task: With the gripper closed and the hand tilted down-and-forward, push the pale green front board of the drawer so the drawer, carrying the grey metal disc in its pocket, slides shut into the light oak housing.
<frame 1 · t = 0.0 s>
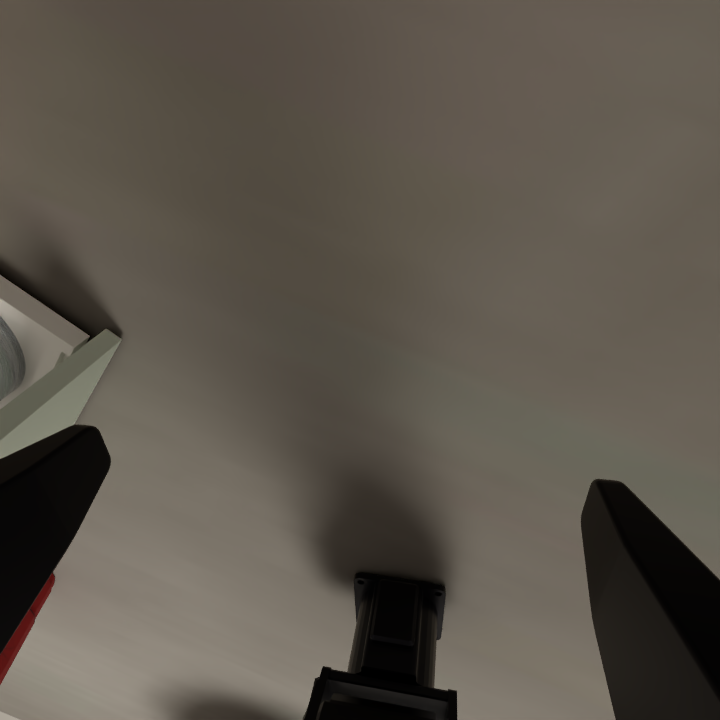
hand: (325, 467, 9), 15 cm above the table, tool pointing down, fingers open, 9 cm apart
plastic cup: (29, 567, 44), on the table
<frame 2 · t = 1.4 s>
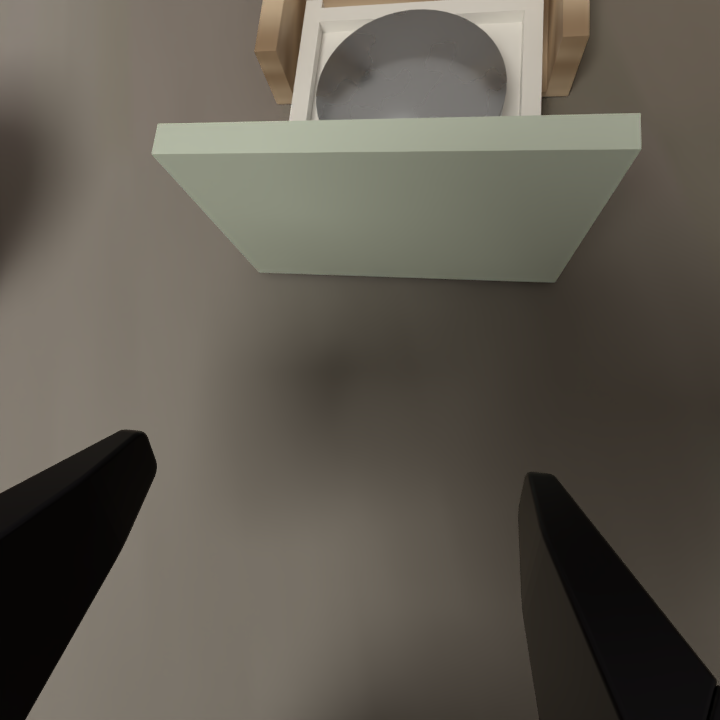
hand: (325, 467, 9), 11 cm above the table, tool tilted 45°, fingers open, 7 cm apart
drawer: (405, 67, 18), point 5 cm above the table, slide at 8.0 cm, touching disc
disc: (410, 114, 22), point 1 cm above the table, touching drawer
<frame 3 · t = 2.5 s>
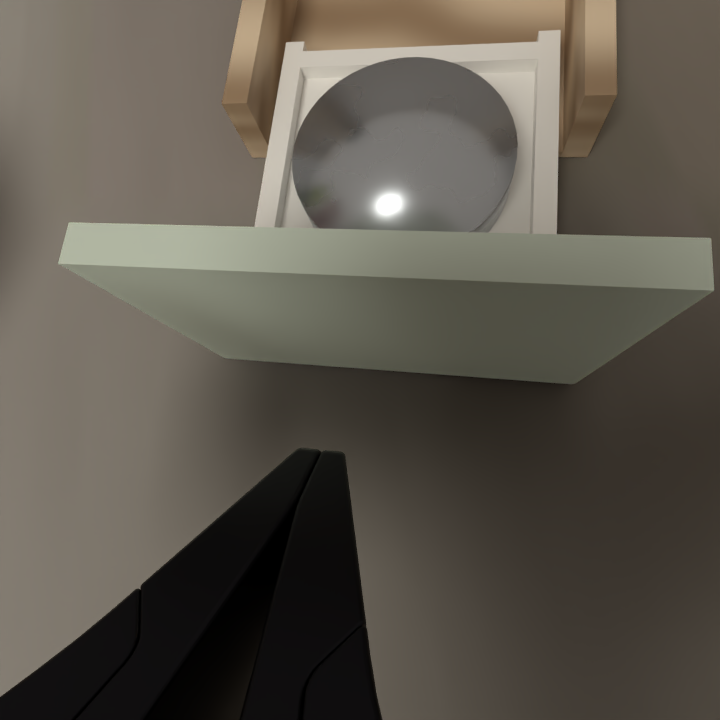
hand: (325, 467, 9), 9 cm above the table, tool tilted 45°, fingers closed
drawer: (396, 132, 15), point 5 cm above the table, slide at 8.0 cm, touching disc
disc: (403, 177, 19), point 1 cm above the table, touching drawer
housing: (422, 26, 22), on the table
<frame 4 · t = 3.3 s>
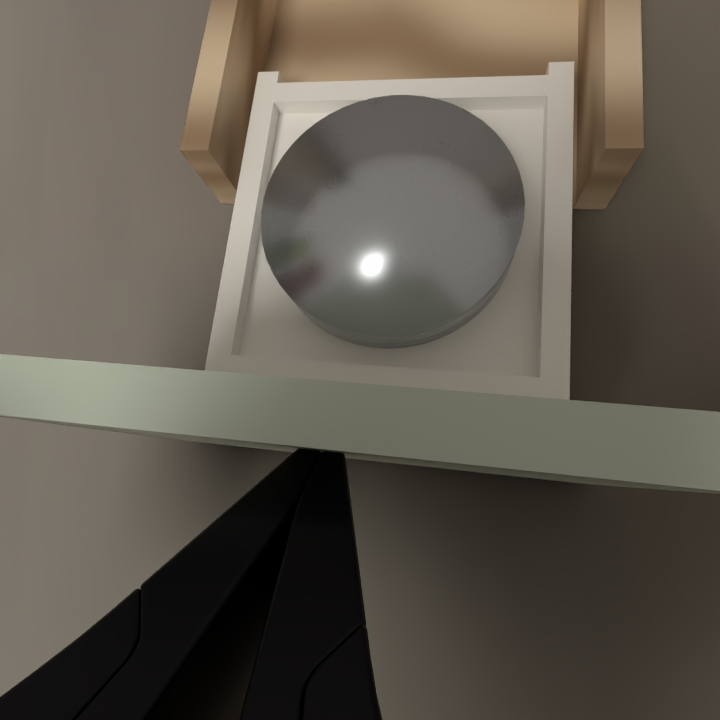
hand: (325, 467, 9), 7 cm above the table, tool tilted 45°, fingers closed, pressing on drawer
drawer: (379, 195, 13), point 5 cm above the table, slide at 7.9 cm, touching disc, gripper
disc: (391, 233, 16), point 1 cm above the table, touching drawer
housing: (415, 52, 19), on the table
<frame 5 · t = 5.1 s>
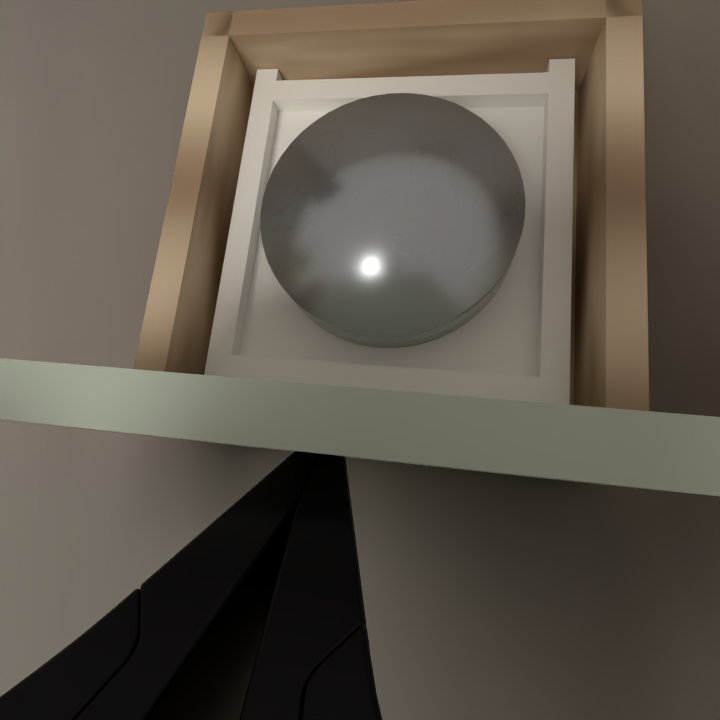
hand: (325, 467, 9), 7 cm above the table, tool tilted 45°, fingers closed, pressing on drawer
drawer: (379, 195, 13), point 5 cm above the table, slide at -0.2 cm, touching disc, gripper
disc: (391, 232, 16), point 1 cm above the table, touching drawer
housing: (396, 239, 17), on the table
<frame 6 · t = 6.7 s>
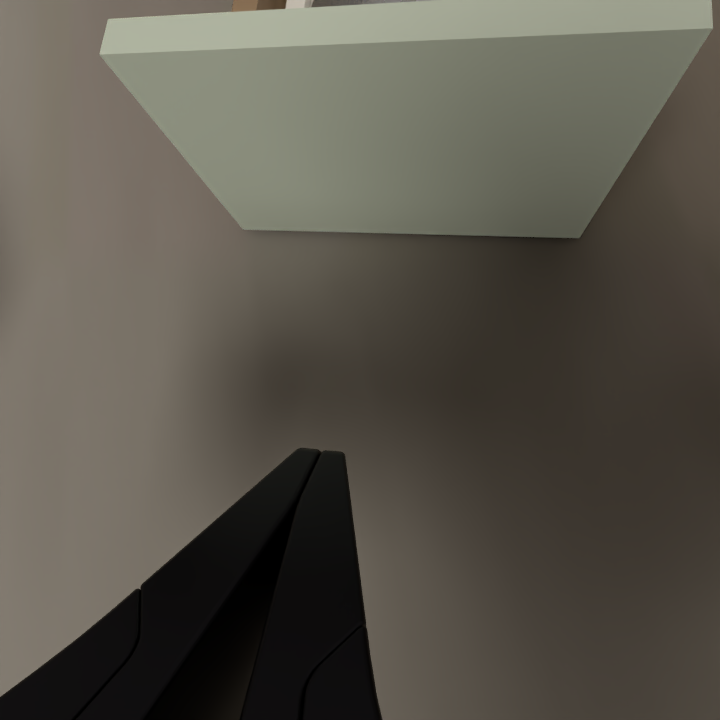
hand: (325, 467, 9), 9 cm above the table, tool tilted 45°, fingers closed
disc: (415, 50, 19), point 1 cm above the table, touching drawer
housing: (418, 63, 20), on the table
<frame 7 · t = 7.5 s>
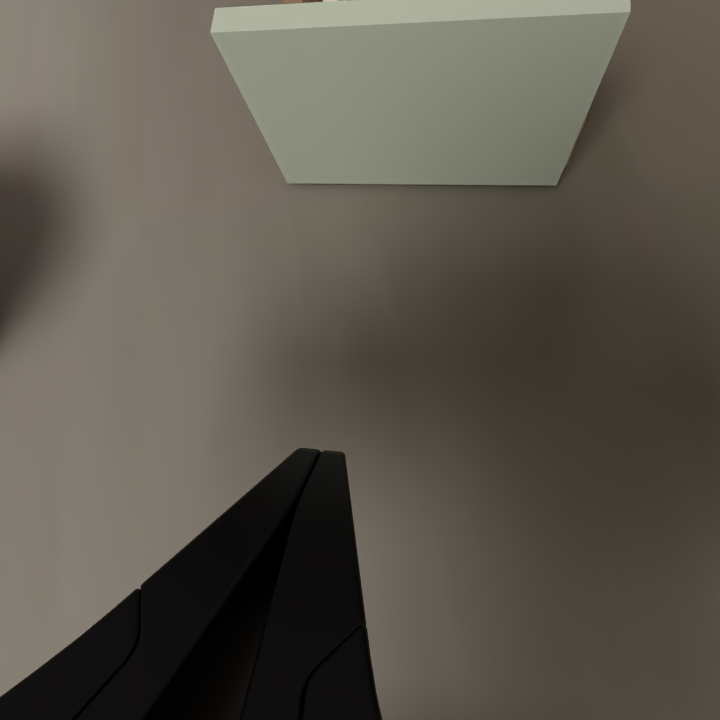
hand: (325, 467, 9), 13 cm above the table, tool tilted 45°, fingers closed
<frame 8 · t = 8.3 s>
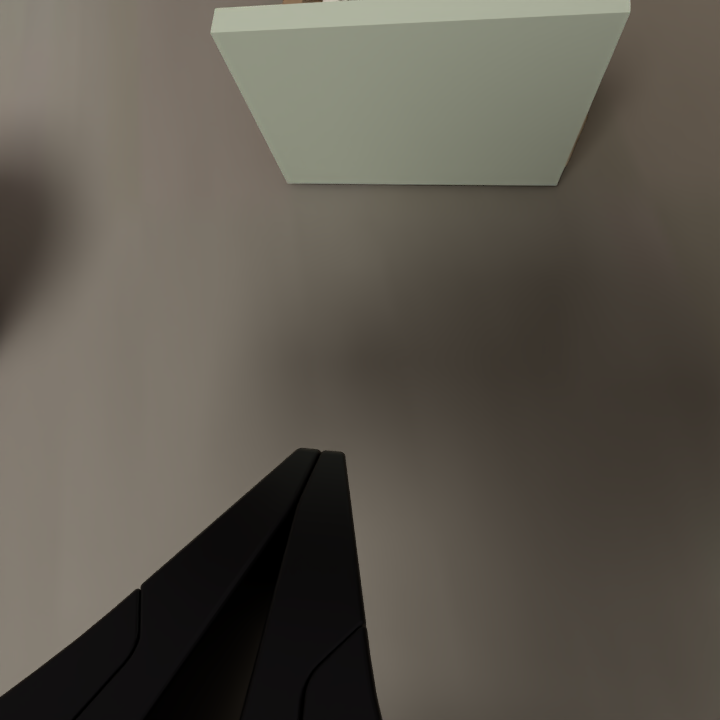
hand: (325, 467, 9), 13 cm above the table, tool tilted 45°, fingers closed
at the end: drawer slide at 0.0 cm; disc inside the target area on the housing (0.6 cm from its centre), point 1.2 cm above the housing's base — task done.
